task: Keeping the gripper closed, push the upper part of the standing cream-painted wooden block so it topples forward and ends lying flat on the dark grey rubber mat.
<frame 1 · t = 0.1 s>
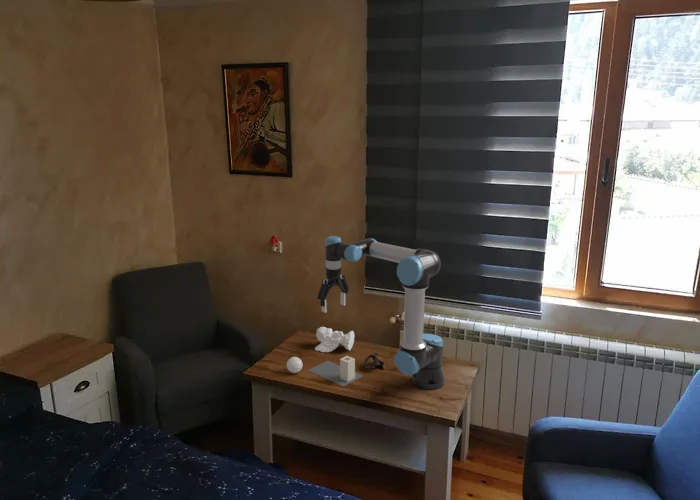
hand: (333, 308, 272), 28 cm above the table, fingers open, 13 cm apart
geometric ball: (294, 372, 266), on the table
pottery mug: (375, 368, 270), on the table
grey mat: (335, 373, 264), on the table
cherub figurine: (333, 349, 291), on the table
cream block: (347, 378, 259), resting on grey mat
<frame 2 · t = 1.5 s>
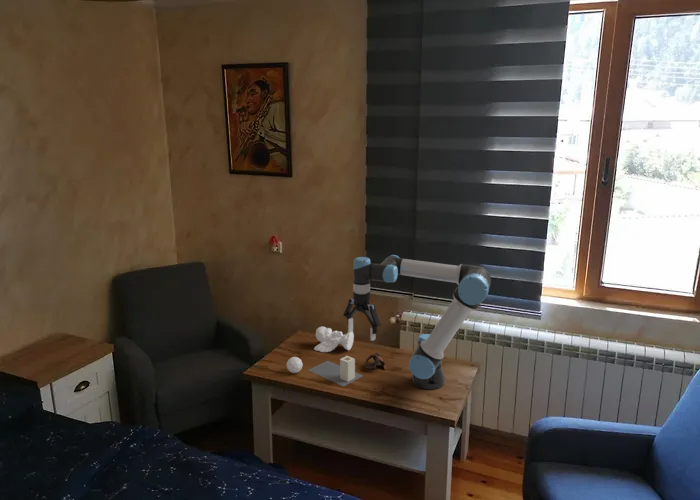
hand: (361, 335, 247), 25 cm above the table, fingers open, 13 cm apart
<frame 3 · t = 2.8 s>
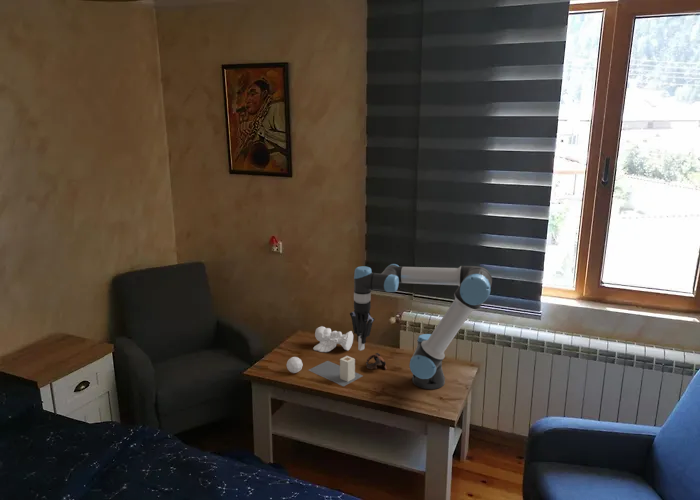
hand: (361, 349, 248), 18 cm above the table, fingers closed
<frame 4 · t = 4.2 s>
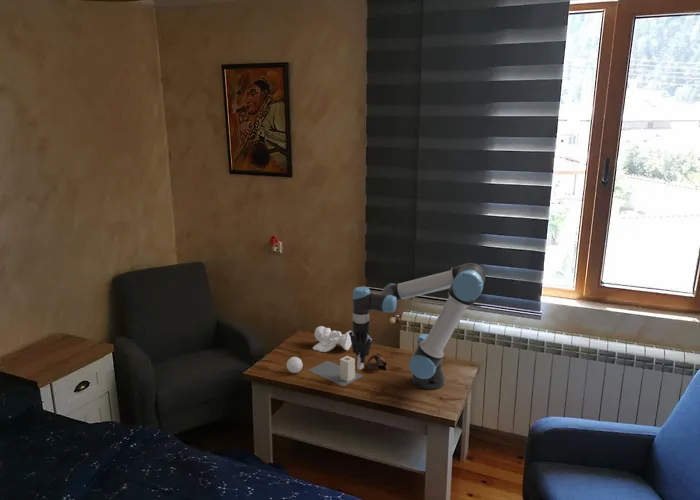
hand: (360, 368, 251), 8 cm above the table, fingers closed
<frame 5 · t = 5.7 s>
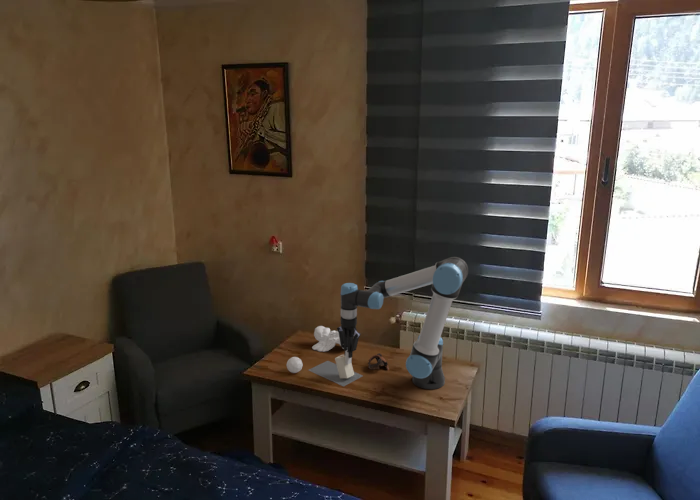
hand: (348, 363, 256), 9 cm above the table, fingers closed
cream block: (347, 376, 258), point 1 cm above the table, tilted 20°, touching grey mat, gripper
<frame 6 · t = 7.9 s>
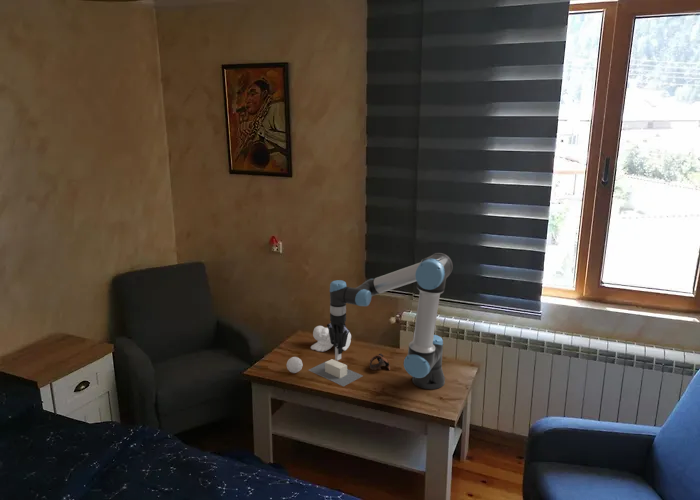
hand: (338, 359, 260), 8 cm above the table, fingers closed
cream block: (343, 371, 260), point 3 cm above the table, tilted 90°, touching grey mat
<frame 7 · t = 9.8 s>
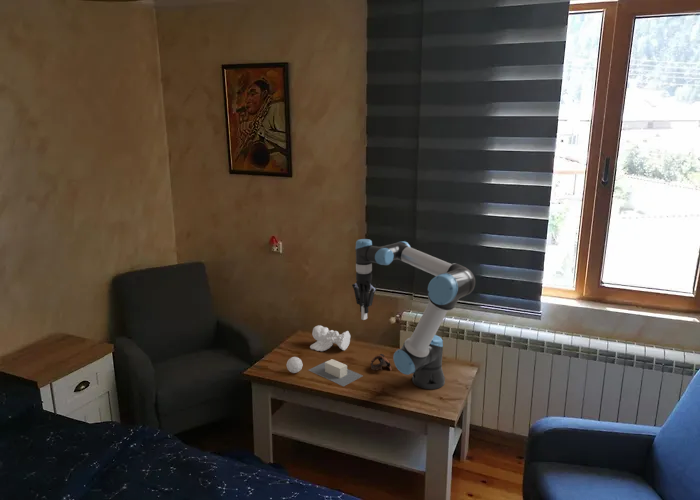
hand: (364, 318, 261), 27 cm above the table, fingers closed
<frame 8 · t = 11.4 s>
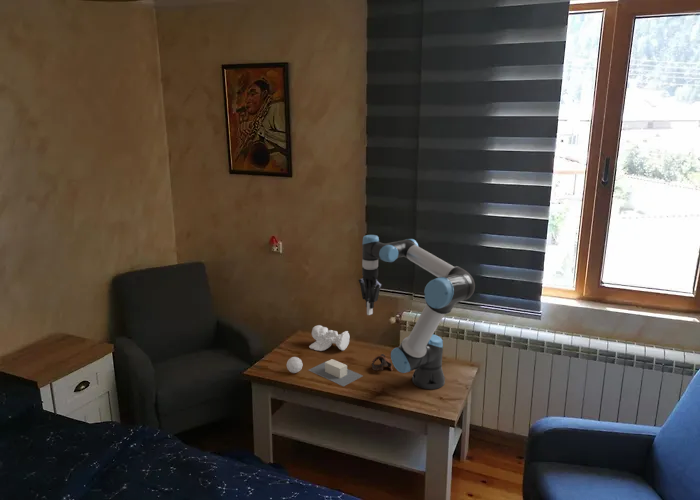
hand: (369, 314, 263), 28 cm above the table, fingers closed
at the end: cream block tilted 90°; cream block inside the target area (5.5 cm from its centre), point 2.9 cm above the table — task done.
